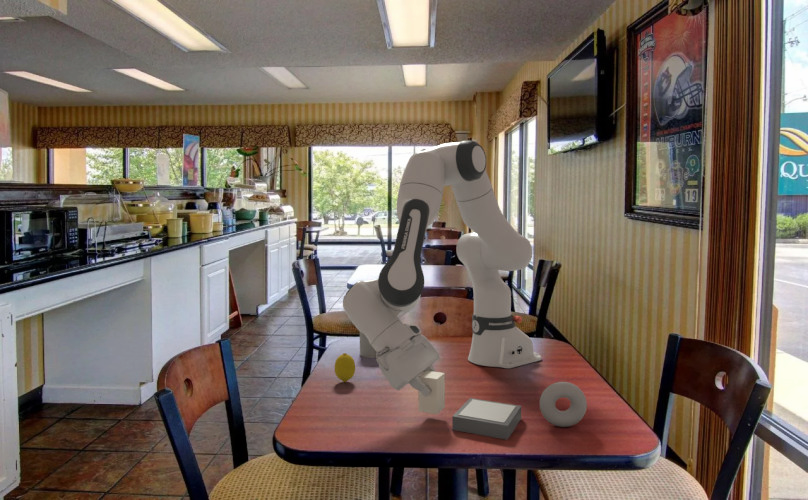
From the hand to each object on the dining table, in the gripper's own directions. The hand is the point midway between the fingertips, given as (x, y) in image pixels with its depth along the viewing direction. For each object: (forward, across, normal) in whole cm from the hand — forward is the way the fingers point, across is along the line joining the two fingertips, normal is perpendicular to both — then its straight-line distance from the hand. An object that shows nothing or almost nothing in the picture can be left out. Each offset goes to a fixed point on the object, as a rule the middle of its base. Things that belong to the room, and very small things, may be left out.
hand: (434, 389), depth 125 cm
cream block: (+3, 0, +4) cm, 5 cm away
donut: (+24, +8, -14) cm, 29 cm away
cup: (-21, +40, +32) cm, 55 cm away
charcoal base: (+13, +2, -3) cm, 14 cm away
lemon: (-17, +13, +27) cm, 35 cm away
